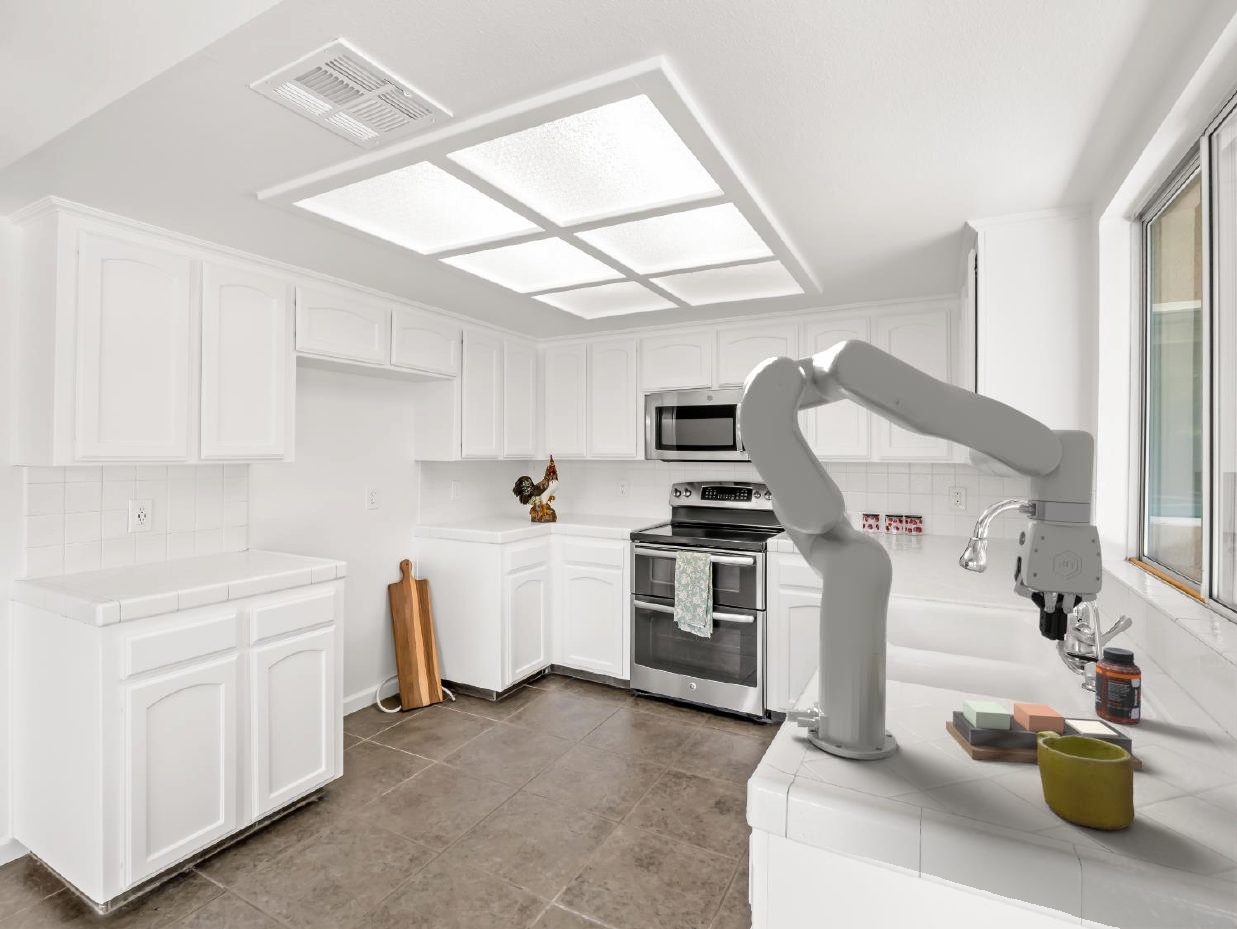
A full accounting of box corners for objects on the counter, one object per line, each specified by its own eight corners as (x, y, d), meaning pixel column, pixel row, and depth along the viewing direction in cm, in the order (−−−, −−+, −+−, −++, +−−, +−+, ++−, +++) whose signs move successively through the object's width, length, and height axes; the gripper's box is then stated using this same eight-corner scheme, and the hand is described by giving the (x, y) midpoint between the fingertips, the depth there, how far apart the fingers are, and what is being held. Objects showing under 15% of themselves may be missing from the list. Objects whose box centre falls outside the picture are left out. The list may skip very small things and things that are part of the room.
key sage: (975, 728, 93) (976, 712, 93) (963, 715, 98) (963, 700, 98) (1009, 730, 92) (1009, 714, 92) (995, 717, 97) (995, 701, 97)
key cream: (1082, 749, 91) (1083, 732, 91) (1064, 735, 96) (1065, 719, 96) (1118, 751, 90) (1118, 734, 90) (1098, 737, 95) (1098, 721, 95)
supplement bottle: (1149, 727, 102) (1150, 657, 102) (1107, 724, 103) (1108, 654, 103) (1127, 713, 108) (1128, 646, 108) (1087, 709, 109) (1088, 644, 109)
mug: (1177, 830, 70) (1136, 736, 72) (1078, 849, 72) (1042, 756, 74) (1119, 796, 82) (1085, 716, 84) (1035, 812, 83) (1005, 733, 86)
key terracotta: (1028, 731, 92) (1029, 715, 92) (1013, 718, 97) (1013, 703, 97) (1063, 733, 91) (1063, 717, 91) (1046, 720, 96) (1046, 704, 96)
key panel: (972, 758, 91) (972, 734, 91) (946, 729, 100) (946, 706, 100) (1142, 770, 88) (1142, 745, 88) (1097, 738, 98) (1098, 715, 97)
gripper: (1016, 513, 91) (1009, 641, 91) (1131, 519, 89) (1124, 650, 89) (993, 509, 98) (987, 627, 98) (1098, 514, 96) (1092, 635, 96)
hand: (1052, 638), depth 94 cm, fingers closed
